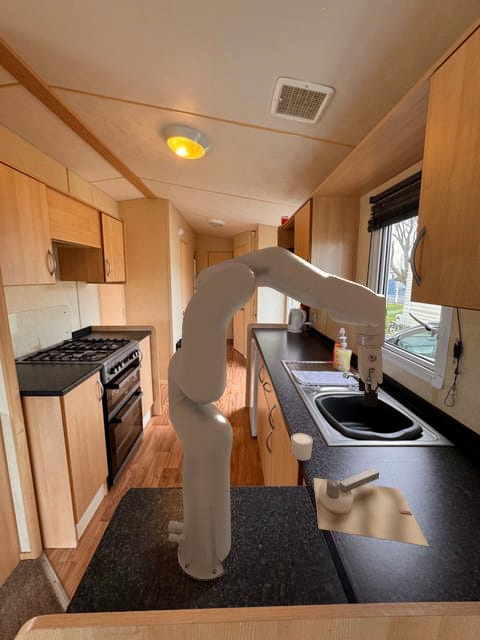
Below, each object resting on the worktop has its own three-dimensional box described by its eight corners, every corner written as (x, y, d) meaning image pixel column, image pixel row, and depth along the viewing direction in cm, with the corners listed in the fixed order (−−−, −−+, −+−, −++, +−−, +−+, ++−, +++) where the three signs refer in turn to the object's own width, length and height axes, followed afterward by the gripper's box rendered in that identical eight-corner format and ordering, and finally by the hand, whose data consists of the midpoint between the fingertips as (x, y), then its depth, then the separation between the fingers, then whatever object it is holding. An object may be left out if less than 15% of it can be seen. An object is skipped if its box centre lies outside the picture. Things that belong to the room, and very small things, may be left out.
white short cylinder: (287, 462, 84) (287, 441, 83) (293, 450, 90) (294, 430, 89) (309, 468, 81) (310, 447, 80) (314, 455, 87) (315, 435, 86)
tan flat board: (318, 534, 60) (318, 527, 60) (313, 482, 75) (313, 477, 75) (428, 552, 56) (429, 545, 55) (399, 493, 71) (399, 487, 71)
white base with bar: (334, 518, 62) (335, 500, 61) (312, 494, 69) (312, 477, 68) (388, 493, 69) (390, 476, 68) (363, 473, 76) (364, 458, 76)
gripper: (393, 347, 65) (389, 414, 67) (377, 333, 81) (375, 387, 83) (359, 346, 67) (357, 411, 69) (350, 332, 83) (349, 385, 86)
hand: (367, 397), depth 76 cm, fingers open, 9 cm apart
